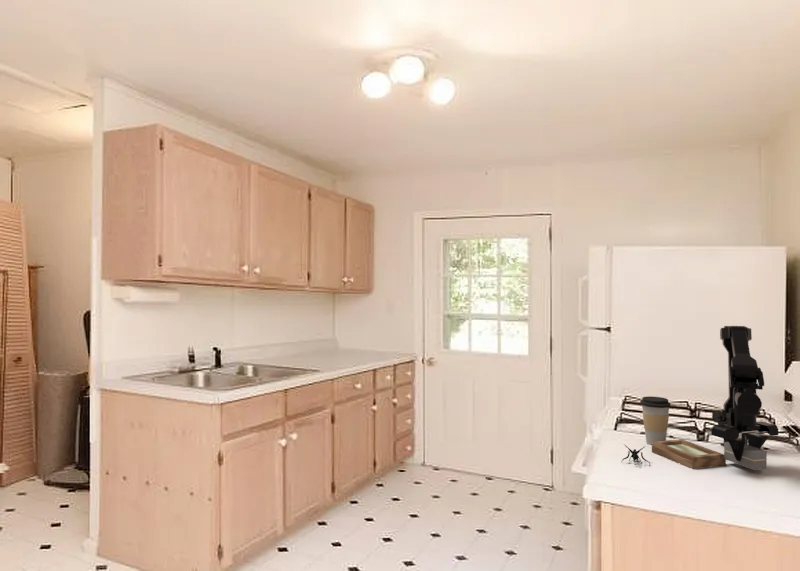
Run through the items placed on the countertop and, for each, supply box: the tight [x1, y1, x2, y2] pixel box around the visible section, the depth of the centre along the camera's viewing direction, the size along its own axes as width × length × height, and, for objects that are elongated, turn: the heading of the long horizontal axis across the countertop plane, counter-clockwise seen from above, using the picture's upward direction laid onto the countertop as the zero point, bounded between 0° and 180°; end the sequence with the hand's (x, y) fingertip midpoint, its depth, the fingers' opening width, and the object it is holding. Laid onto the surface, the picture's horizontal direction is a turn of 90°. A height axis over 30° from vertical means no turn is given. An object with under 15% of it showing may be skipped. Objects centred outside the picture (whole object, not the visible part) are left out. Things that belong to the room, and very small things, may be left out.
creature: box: [621, 444, 651, 465], centre depth 161 cm, size 8×5×8 cm
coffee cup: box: [639, 395, 672, 446], centre depth 182 cm, size 9×9×15 cm
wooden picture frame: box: [651, 438, 727, 470], centre depth 166 cm, size 12×16×3 cm
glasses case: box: [723, 441, 768, 471], centre depth 156 cm, size 4×10×5 cm, turn 15°
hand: (744, 460), depth 156 cm, fingers closed on glasses case, 4 cm apart
